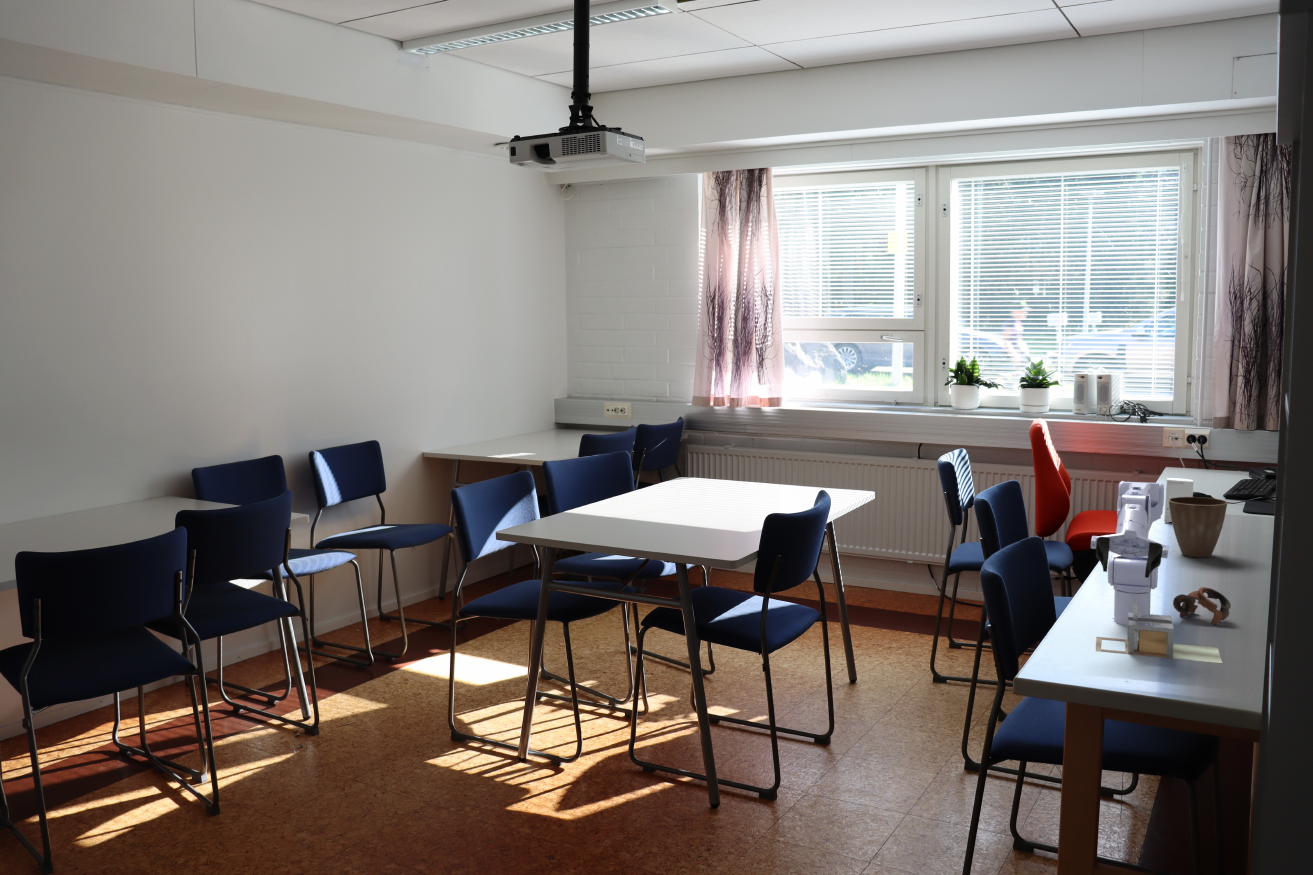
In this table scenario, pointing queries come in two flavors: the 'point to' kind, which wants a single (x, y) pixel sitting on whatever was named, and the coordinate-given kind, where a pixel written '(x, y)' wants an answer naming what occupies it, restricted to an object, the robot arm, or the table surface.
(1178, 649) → the board
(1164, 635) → the block
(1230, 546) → the table surface
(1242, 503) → the table surface
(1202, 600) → the brown headphones
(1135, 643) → the paddle
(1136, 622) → the tunnel
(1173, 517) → the plant pot
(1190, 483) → the skincare box
